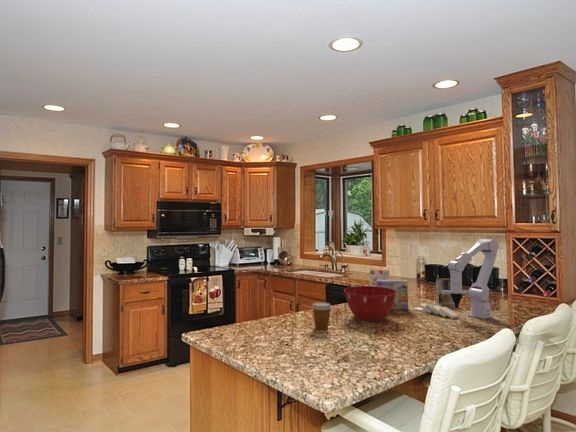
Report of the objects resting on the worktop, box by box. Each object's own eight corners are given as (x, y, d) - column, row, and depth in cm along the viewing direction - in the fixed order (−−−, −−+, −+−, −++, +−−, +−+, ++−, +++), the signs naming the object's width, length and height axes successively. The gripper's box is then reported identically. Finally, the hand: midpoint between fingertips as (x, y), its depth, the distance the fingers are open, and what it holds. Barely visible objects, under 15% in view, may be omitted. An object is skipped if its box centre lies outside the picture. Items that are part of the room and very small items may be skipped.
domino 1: (431, 310, 235) (419, 307, 243) (425, 311, 233) (413, 308, 240) (431, 312, 235) (419, 310, 243) (425, 313, 233) (413, 311, 240)
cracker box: (369, 298, 278) (369, 268, 278) (376, 297, 280) (376, 267, 281) (382, 301, 265) (382, 270, 265) (389, 301, 268) (389, 269, 268)
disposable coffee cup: (315, 331, 193) (315, 306, 193) (309, 326, 202) (309, 302, 202) (334, 329, 195) (333, 305, 196) (327, 325, 205) (326, 301, 205)
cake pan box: (375, 309, 243) (375, 280, 243) (375, 307, 248) (375, 278, 248) (408, 310, 238) (408, 281, 239) (407, 308, 243) (407, 279, 243)
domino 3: (443, 311, 228) (431, 303, 235) (437, 312, 225) (425, 304, 233) (442, 314, 228) (431, 306, 236) (436, 315, 226) (425, 307, 233)
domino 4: (451, 313, 224) (438, 305, 231) (445, 314, 221) (432, 306, 228) (450, 316, 224) (437, 307, 232) (444, 317, 222) (432, 308, 229)
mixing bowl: (398, 326, 203) (398, 295, 203) (342, 323, 208) (341, 293, 209) (395, 313, 230) (394, 286, 231) (345, 311, 236) (345, 285, 236)
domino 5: (458, 315, 220) (445, 306, 227) (453, 316, 217) (439, 307, 225) (457, 317, 220) (444, 309, 228) (452, 318, 218) (438, 310, 225)
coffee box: (450, 303, 261) (449, 278, 261) (453, 305, 254) (453, 279, 255) (435, 302, 262) (435, 278, 262) (438, 304, 255) (438, 279, 255)
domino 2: (436, 310, 232) (425, 303, 240) (430, 310, 230) (419, 303, 238) (436, 312, 233) (425, 305, 240) (430, 313, 230) (418, 306, 238)
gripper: (468, 282, 221) (468, 306, 221) (440, 281, 224) (441, 305, 224) (471, 284, 214) (472, 309, 214) (443, 283, 217) (443, 308, 217)
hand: (456, 307), depth 218 cm, fingers closed
